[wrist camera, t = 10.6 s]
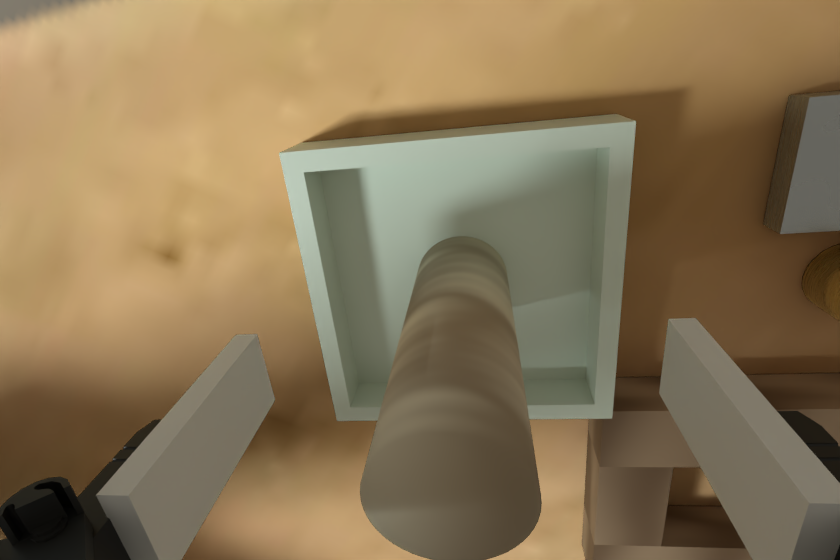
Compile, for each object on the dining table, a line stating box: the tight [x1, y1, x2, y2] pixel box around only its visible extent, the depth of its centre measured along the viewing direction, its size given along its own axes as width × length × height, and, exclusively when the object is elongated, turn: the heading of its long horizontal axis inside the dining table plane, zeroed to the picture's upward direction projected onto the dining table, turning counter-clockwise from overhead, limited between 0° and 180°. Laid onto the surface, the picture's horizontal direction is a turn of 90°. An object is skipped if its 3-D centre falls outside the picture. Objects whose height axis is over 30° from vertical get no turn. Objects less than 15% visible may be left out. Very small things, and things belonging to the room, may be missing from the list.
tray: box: [279, 114, 636, 421], centre depth 21 cm, size 13×13×2 cm
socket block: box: [582, 373, 840, 560], centre depth 24 cm, size 12×12×2 cm
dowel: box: [360, 236, 542, 560], centre depth 16 cm, size 4×4×12 cm
